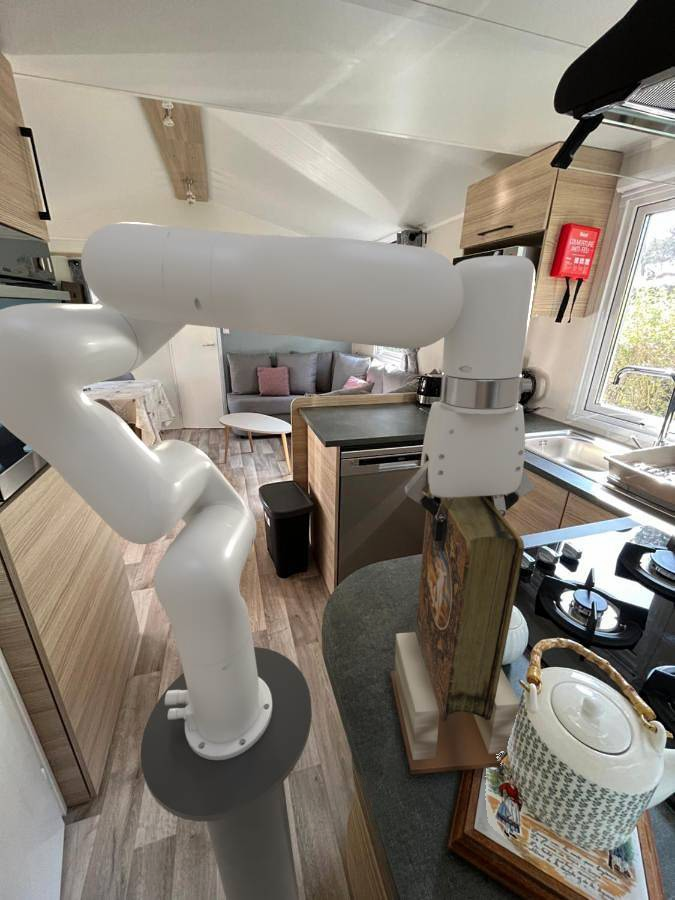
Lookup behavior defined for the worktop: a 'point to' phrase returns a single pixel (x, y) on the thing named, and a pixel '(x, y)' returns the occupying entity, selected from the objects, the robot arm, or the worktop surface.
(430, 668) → the book
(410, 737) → the book rack
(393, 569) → the worktop surface
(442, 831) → the worktop surface
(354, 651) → the worktop surface
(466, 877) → the worktop surface
